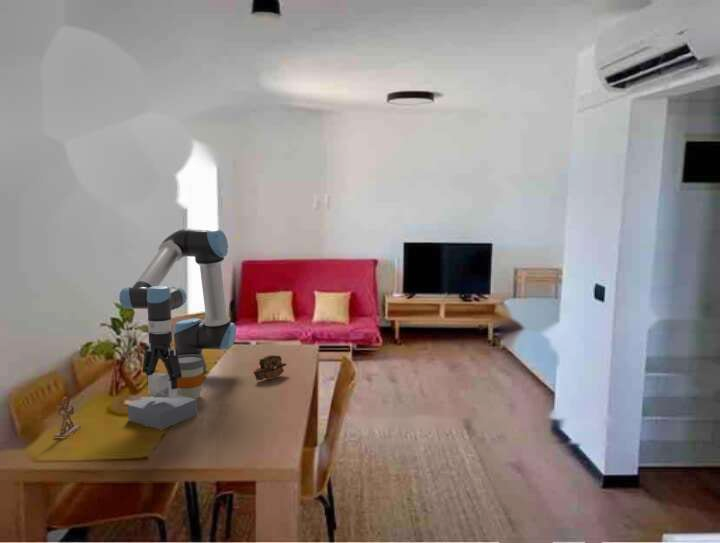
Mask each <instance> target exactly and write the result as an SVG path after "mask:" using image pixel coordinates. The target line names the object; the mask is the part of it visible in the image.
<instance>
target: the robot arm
mask: <svg viewBox="0 0 720 543" xmlns="http://www.w3.org/2000/svg"><path fill="white" fill-rule="evenodd" d="M228 243H229V242H228V239H227V236H226V234H225V233H224V231H223V230H221V229H219V228H212V227H209V228H208V227H207V228H206V227H205V228H204V227H203V228H189V227H188V228H182V229H179V230H177V231H175V232H173V233H172V234H170V235H169V236H167V237H166V238H164V240H163V241H162V242H161V243H160V244H159V247H158V252H157V253H156V255H155V256H154V257H153V259H152V260H151V262H150V263H149V264H148V265H147V267H146V268H145V270H144V271H143V272H142V273H141V275H140V276H139V278H138V279H137V281H136V282H135V283H134V284H133V286H132V287H130V286H128V287H123V288H122V289H121V290H120V292H119V296H118V297H119V299H118V300H119V303H120V305H121V307H123V308H124V309H132V310H135V309H138V310H140V309H141V310H143V309H144V310H147V325H148V326H147V327H148V332H149V333H148V343H149V344H146V345H144V355H143V364H142V373H145V375H146V376H147V382H146V383H147V385H148V384H149V382H150V381H151V379H152V378H153V377H154V375H155V374H156V371H155V370H156V368H157V365H158V362H159V360H161V362H162V363H163V364H164V367H165V369H166V372H167V373H168V375H169V377H170V379H169V380H168V385H169V399H172V398H175V397H177V390H176V388H177V379H178V378H181V377H182V375H181V370H180V365H179V360H178V356H181V355H200V356H203V358H204V366H203V371H204V373H206V372H207V370H208V368H207V366H208V365H207V363H206V361H205V357H204V354H203V350H217V351H222V350H224V351H225V350H230V349H231V348H232V347H233V345H234V343H235V340H236V335H237V326H236V324H235V323H234V322H231V317H230V316H229V315H227V312H226V310H227V308H226V299H225V290H224V282H223V273H222V263H223V261H224V260H225V257H226V256H227V255H228V253H229V252H228V248H229V245H228ZM184 257H194V261H195V263H196V264H197V265H198V266H199V269H200V278H201V287H202V288H201V289H202V294H203V295H202V296H203V303H204V304H203V306H204V313H205V317H204V318H203V320H202V319H201V318H198V317H196V318H189V319H182V320H179V321H177V322H175V323H174V326H172V311H173V310H175V309H176V310H177V309H179V308H181V307H182V306H183V305H184V304H185V303H186V301H187V292H186V291H185V290H184V289H183V288H182V287H179V286H171V287H169V286H168V285H161V284H162V282H163V281H164V280H165V278H166V277H167V275H168V274H169V272H170V271H171V269H172V268H173V266H174V265H175V263H177V262H179V261H180V260H182V258H184ZM172 329H173V332H172ZM172 342H173V344H174V346H173V347H174V348H173V349H172V346H171V343H172ZM148 394H149V395H152V393H151V391H150V389H149V387H148Z"/></svg>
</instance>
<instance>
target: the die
mask: <svg viewBox="0 0 720 543" xmlns="http://www.w3.org/2000/svg"><path fill="white" fill-rule="evenodd" d="M154 374H155V375H154V377H153V378H152V379H151V381H150V382H149V384H148V383H147V386H148V387H149V388H148V390H149V389H150V391H151V393H152V394H151V395H152V396H153V397H169V385H168V380H169V379H170V377H169V375H168V372H167V373H166V372H162V373H161V372H160V373H159V372H158V373H157V372H155V373H154Z"/></svg>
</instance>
